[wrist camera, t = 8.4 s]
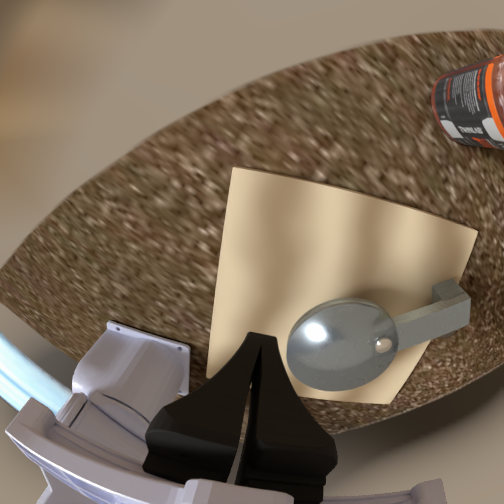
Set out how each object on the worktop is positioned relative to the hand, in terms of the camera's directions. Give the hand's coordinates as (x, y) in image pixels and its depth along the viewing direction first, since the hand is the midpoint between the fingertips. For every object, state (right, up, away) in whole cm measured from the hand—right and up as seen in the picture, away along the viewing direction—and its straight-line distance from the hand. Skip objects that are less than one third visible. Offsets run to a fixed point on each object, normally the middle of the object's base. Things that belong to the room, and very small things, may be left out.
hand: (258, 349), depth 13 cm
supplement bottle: (+16, +16, +3) cm, 22 cm away
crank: (+9, 0, +7) cm, 12 cm away
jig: (+7, 0, +10) cm, 12 cm away
